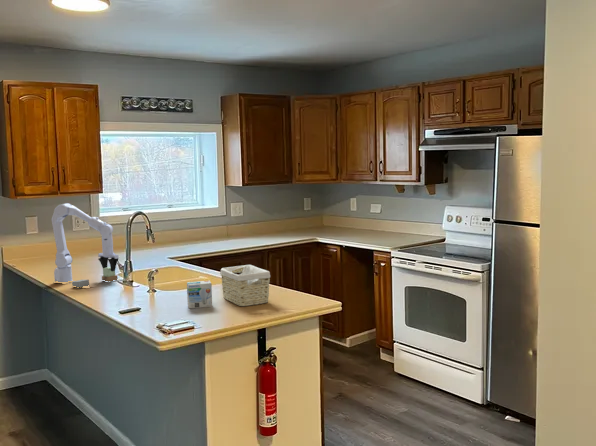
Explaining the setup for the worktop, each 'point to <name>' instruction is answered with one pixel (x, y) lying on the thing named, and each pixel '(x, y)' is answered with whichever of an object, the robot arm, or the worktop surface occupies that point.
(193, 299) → the light bulb box
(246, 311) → the worktop surface
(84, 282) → the slate block
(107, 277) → the walnut block
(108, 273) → the sage cube
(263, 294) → the storage basket
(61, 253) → the robot arm
